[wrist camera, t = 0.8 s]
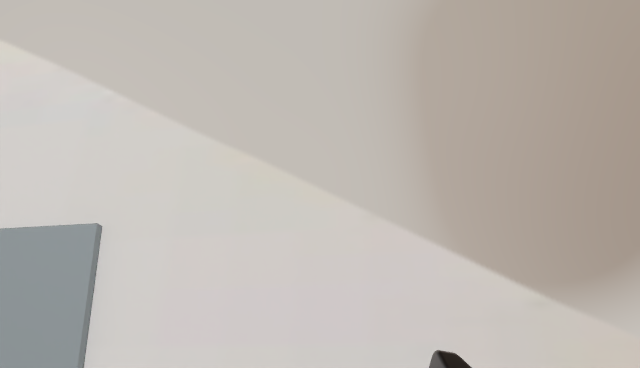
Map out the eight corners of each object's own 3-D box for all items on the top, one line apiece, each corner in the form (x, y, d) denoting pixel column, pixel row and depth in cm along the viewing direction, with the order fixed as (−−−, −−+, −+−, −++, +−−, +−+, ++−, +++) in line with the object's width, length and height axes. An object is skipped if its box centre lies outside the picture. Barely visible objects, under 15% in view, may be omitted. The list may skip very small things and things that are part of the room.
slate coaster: (82, 376, 20) (76, 377, 20) (-84, 389, 20) (-95, 391, 19) (102, 226, 23) (97, 223, 23) (-42, 234, 23) (-51, 231, 22)
